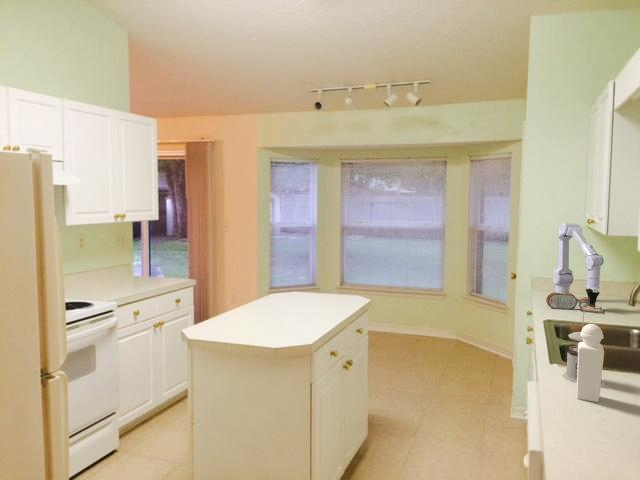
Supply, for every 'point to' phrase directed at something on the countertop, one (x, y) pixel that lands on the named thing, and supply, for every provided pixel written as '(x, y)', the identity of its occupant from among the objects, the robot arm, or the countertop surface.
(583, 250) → the robot arm
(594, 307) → the cylinder
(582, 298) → the button
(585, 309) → the drawing board
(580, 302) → the button base
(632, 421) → the countertop surface
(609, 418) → the countertop surface
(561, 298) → the tin
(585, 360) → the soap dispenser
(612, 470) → the countertop surface
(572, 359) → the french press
